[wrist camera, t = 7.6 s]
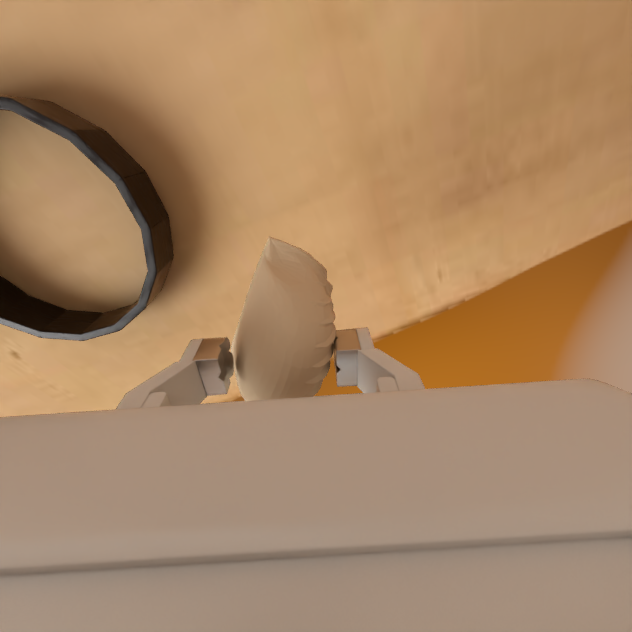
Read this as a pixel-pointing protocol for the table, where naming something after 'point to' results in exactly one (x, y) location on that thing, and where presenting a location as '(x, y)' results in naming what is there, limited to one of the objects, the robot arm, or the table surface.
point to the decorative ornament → (284, 326)
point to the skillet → (139, 194)
